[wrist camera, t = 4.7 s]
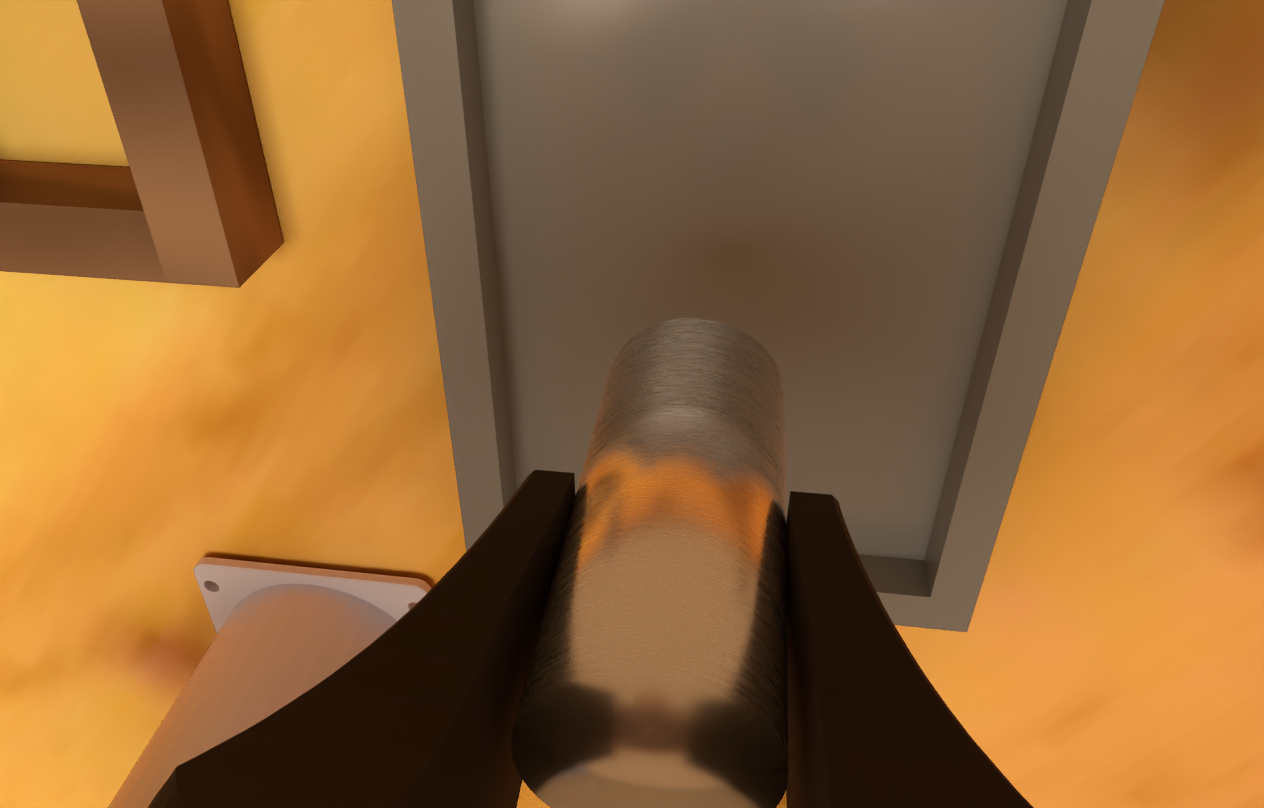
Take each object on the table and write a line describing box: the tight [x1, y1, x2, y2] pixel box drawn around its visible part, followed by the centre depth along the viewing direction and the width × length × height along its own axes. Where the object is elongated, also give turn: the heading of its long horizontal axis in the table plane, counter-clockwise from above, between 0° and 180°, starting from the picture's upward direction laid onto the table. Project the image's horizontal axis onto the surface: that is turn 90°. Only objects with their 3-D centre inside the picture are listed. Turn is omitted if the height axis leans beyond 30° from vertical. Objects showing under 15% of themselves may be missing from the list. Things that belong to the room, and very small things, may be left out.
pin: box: [511, 318, 788, 808], centre depth 14 cm, size 3×3×8 cm
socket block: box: [0, 0, 283, 288], centre depth 21 cm, size 9×9×2 cm
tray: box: [392, 0, 1164, 632], centre depth 22 cm, size 20×14×2 cm
